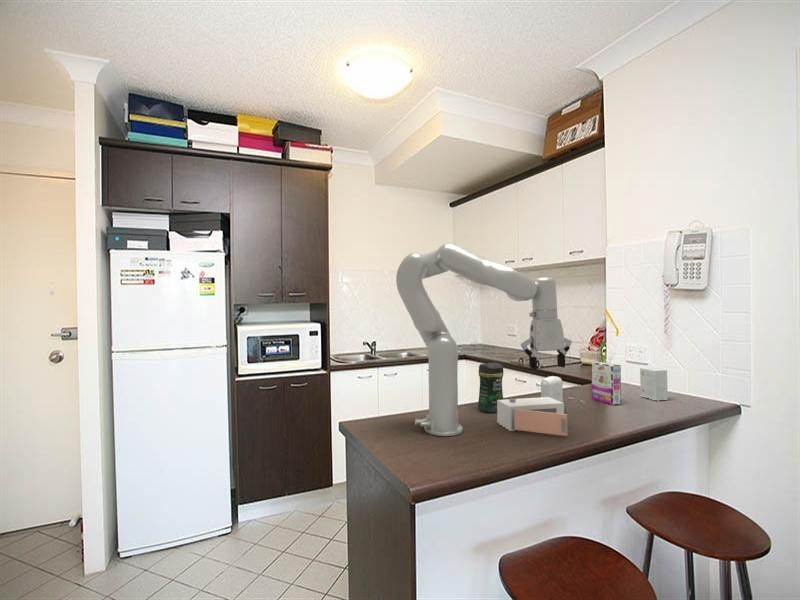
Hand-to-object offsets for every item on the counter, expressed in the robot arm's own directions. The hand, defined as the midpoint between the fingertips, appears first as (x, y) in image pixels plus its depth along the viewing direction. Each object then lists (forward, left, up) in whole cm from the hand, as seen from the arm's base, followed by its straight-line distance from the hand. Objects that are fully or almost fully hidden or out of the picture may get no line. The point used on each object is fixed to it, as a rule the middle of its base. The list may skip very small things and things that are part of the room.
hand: (547, 367), depth 124 cm
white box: (-1, +8, -21) cm, 22 cm away
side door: (-5, -2, -20) cm, 21 cm away
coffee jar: (-7, +28, -21) cm, 36 cm away
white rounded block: (+19, +27, -21) cm, 39 cm away
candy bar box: (+46, +29, -21) cm, 59 cm away
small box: (+70, +29, -21) cm, 79 cm away
